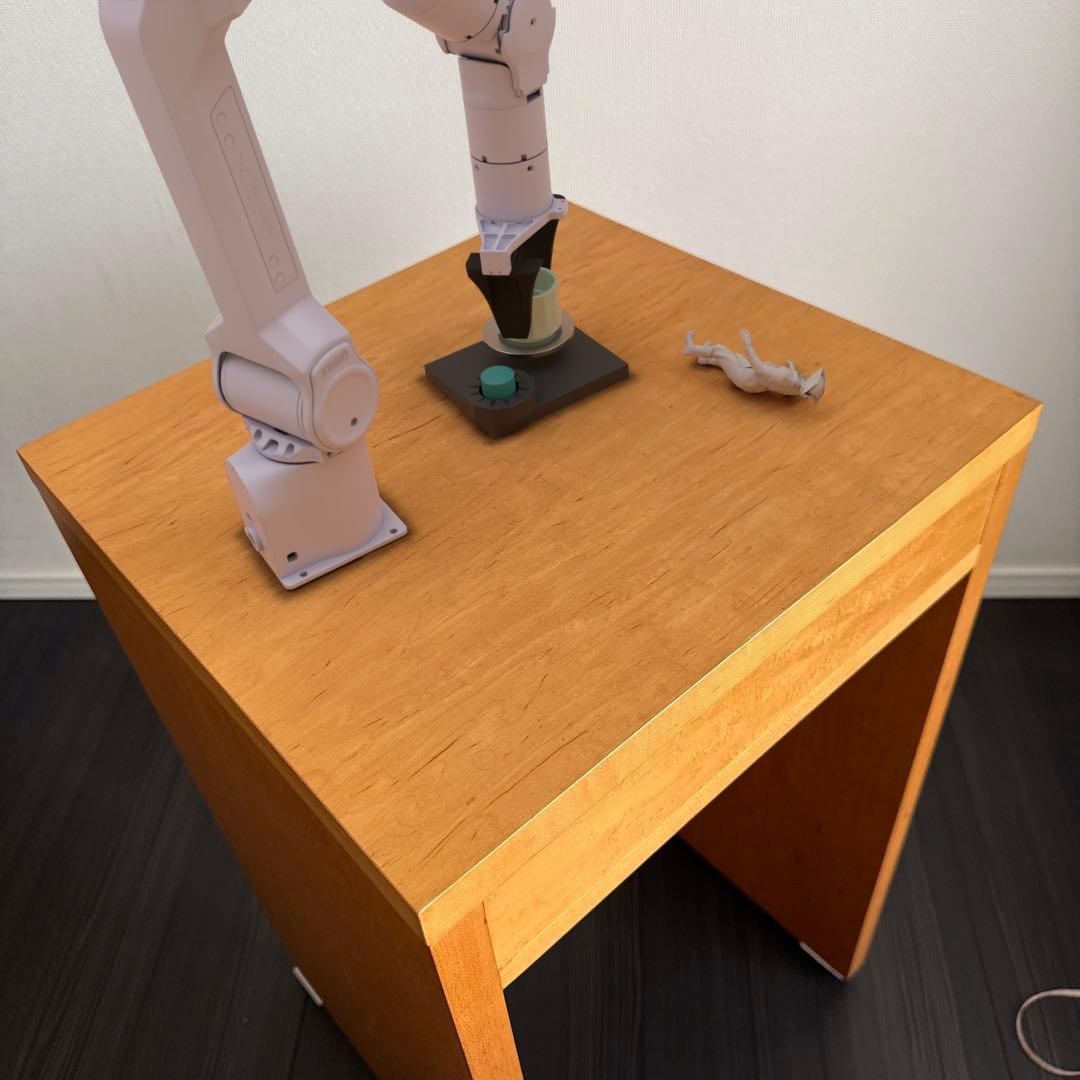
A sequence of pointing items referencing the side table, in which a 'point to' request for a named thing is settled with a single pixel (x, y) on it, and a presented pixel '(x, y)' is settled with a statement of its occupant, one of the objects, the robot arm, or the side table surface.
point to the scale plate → (527, 350)
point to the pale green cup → (544, 308)
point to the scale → (526, 381)
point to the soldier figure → (757, 370)
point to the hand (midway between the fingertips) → (525, 310)
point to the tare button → (498, 382)
